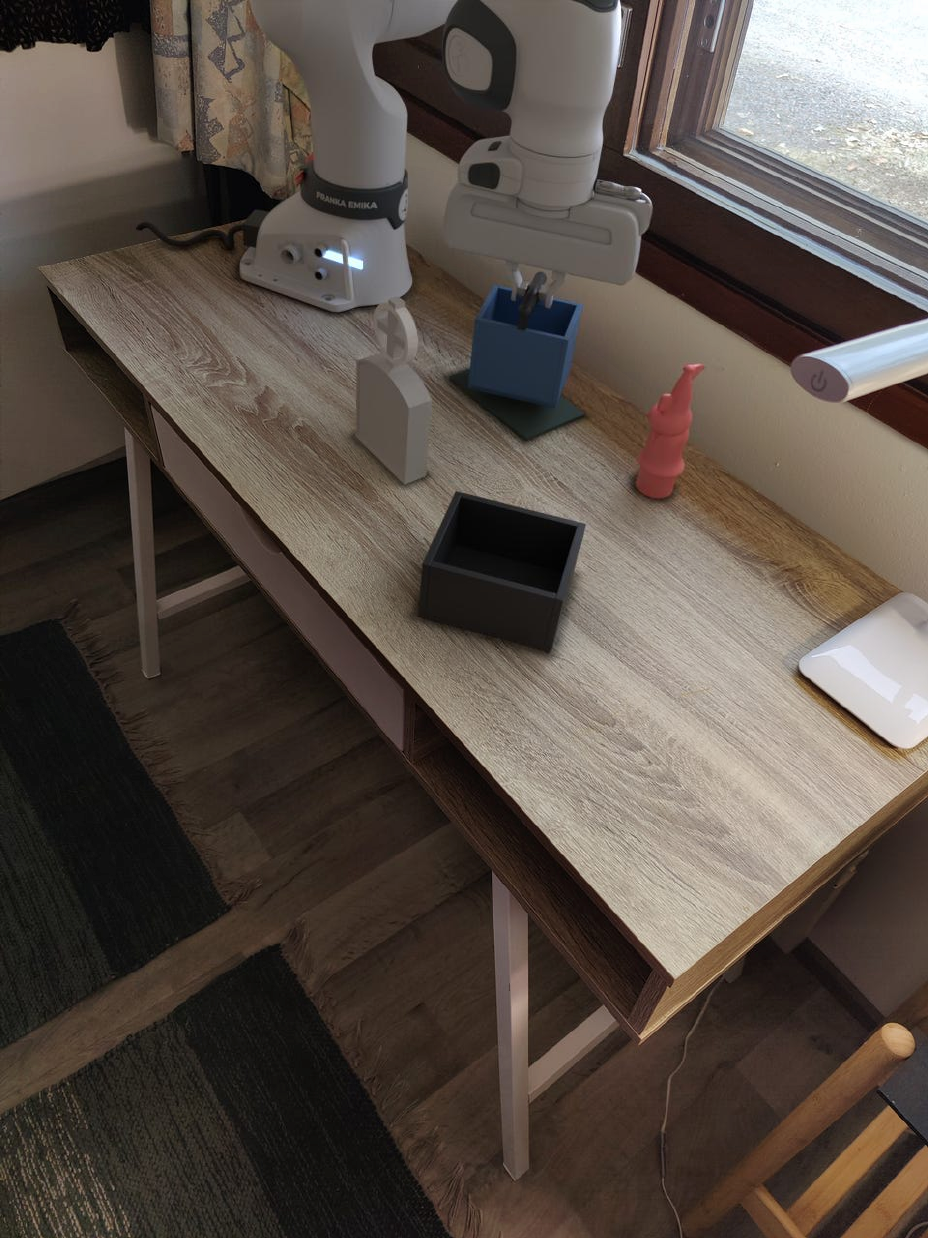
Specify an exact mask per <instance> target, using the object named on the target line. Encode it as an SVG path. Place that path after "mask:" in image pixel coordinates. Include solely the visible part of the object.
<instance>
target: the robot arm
mask: <svg viewBox="0 0 928 1238" xmlns="http://www.w3.org/2000/svg"><path fill="white" fill-rule="evenodd" d="M248 1H249V5H250V9H251V12H252V14H253V18H254V20H255V22H256V24H257V26H258V27H259V29H260V31H261V32H262V33H263V34H264V36H265V37H266V38H267V39H268V41H269V42H271V43H272V45H274V46H275V47H276V48H277V49H279V50H280V51H281V52H283V53H284V54H285V55H286V57H288V58H289V60H290V61H291V62H292V64H293V65H294V67H295V68H296V70H297V72H298V74H299V75H300V78H301V80H302V82H303V84H304V88H305V90H306V94H307V98H308V104H309V109H310V121H311V137H312V152H311V153H310V154H309V155H308V156H307V158H306V162H305V163H304V164H303V165H301V166H300V168H299V172H297V174H296V175H295V176H294V178H293V179H294V180H295V182H294V187H295V188H297V187H298V186H299V187H300V190H298V191H297V192H296V193H294V194H292V195H291V196H289V197H288V198H286V199H284V200H283V201H282V202H280V203H279V204H277V205H276V206H275V207H273V208H272V209H271V210H270V211H266V210H261V209H256V208H255V209H254V210H253V211H252V213H251V214H249V216H248V217H247V218H246V219H245V220H244V221H243V222H242V223H241V224H237V225H234V226H232V227H230V229H229V230H228V232H227V234H226V233H225V232H224V231H222V230H219V229H208V230H204V231H202V232H201V233H198V234H197V235H195V236H193V237H191V238H189V239H185V240H177V239H173V238H170V237H168V236H167V235H165V234H164V233H162V231H161V230H159V228H157V226H155V225H154V224H153V223H151V222H149V221H142V222H140V223H139V224H138V225H137V226H136V227H135V230H136V231H143V230H144V229H148V230H150V231H151V232H152V233H153V234H154V235H155V236H156V237H157V238H158V239H159V240H160V241H162V242H164V243H165V244H167V245H168V246H172V247H177V248H187V247H191V246H193V245H196V244H197V243H199V242H201V241H202V240H205V239H207V238H209V237H219V238H221V239H222V241H223V243H224V245H225V248H226V249H227V250H230V251H231V250H232V249H234V248H235V235H236V234H237V233H238V232H242V241H243V246H245V247H248V249H246V250H245V252H244V253H243V254H242V257H241V259H240V262H239V276H240V278H241V279H242V280H243V281H245V282H247V283H251V284H253V285H257V286H259V287H262V288H265V289H268V290H270V291H273V292H276V293H278V294H282V295H284V296H287V297H290V298H292V299H296V300H298V301H301V302H304V303H306V304H309V305H312V306H315V307H316V308H319V309H323V310H326V311H327V312H328V311H329V312H332V313H342V312H345V311H348V310H351V309H354V308H358V307H366V306H367V307H368V306H376V305H377V306H378V305H379V304H381V303H384V302H388V299H390V298H393V297H397V296H399V297H400V298H401V297H402V296H404V295H406V294H407V293H408V292H409V290H411V288H412V285H413V276H412V273H411V269H410V265H409V258H408V252H407V243H406V232H405V231H406V228H405V222H406V220H407V215H408V209H409V208H408V206H409V174H408V170H407V169H406V154H407V152H406V151H407V134H408V133H407V131H408V110H407V107H406V104H405V102H404V100H403V98H402V96H401V95H400V93H399V92H398V91H397V90H396V89H395V87H394V86H393V85H391V84H390V83H388V81H386V80H384V79H382V78H380V77H379V76H377V75H376V73H375V69H374V63H373V49H374V46H375V45H376V44H380V43H381V44H382V43H385V42H387V43H388V42H391V41H398V40H404V39H409V38H415V37H420V36H422V35H425V34H426V33H429V32H431V31H433V30H436V29H437V28H440V27H441V26H443V31H442V37H441V60H442V67H443V72H444V75H445V78H446V80H447V83H448V84H449V86H450V88H451V89H452V90H453V92H454V93H455V95H457V96H458V97H459V99H460V100H461V101H463V102H464V103H465V104H467V105H469V106H470V107H475V108H477V109H481V110H485V111H491V112H503V113H506V114H507V115H508V116H509V117H510V119H511V124H510V125H511V126H510V131H509V135H503V136H497V137H490V138H489V137H488V138H483V139H479V140H476V141H475V142H474V143H473V144H472V145H471V146H470V147H469V148H468V149H467V150H466V151H465V152H464V153H463V156H462V157H461V159H460V161H459V165H458V166H457V179H458V180H457V182H456V183H455V184H454V185H453V187H452V189H451V190H450V192H449V195H448V197H447V201H446V205H445V209H444V216H443V221H442V229H441V239H442V241H444V243H445V245H446V247H447V248H448V249H450V250H455V251H458V252H459V251H460V252H464V253H469V254H474V255H477V256H478V255H479V256H483V257H488V258H492V259H497V260H501V261H505V262H504V268H503V269H504V273H505V274H506V276H507V278H508V281H509V283H510V285H511V286H512V287H511V288H512V296H511V300H513V301H517V302H522V300H523V298H524V296H525V294H526V292H527V290H528V288H529V286H530V284H531V282H530V281H528V280H524V279H523V277H522V274H521V271H520V269H519V268H520V266H522V265H524V266H529V267H534V268H537V269H542V270H547V271H552V272H551V280H552V281H551V282H550V283H549V285H548V284H545V285H541V287H540V289H539V292H538V297H537V298H538V300H537V304H536V306H540V307H544V308H549V309H550V307H551V305H552V301H553V298H554V295H555V294H556V292H557V291H558V290H559V289H560V288H561V286H563V285H564V283H565V281H566V279H567V277H568V275H569V276H574V277H578V278H579V277H580V278H584V279H589V280H593V281H598V282H602V283H603V282H604V283H608V284H612V285H616V286H621V287H622V286H625V285H626V284H628V283H629V282H630V281H631V280H633V278H634V276H635V274H636V271H637V267H638V262H639V257H640V251H641V243H642V242H641V241H642V235H644V234H646V232H647V231H648V229H649V227H650V226H651V220H652V216H653V211H654V210H653V209H654V207H653V203H652V200H651V199H650V197H649V196H647V195H646V194H645V193H643V192H642V189H641V188H639V187H636V186H632V185H628V186H626V185H621V184H618V183H615V182H612V181H608V180H604V179H598V177H597V176H598V171H599V166H600V160H601V157H602V156H601V155H602V149H603V144H604V132H603V121H604V116H605V113H606V111H607V107H609V104H610V102H611V98H612V95H613V91H614V85H615V81H616V74H617V68H618V61H619V54H620V47H621V46H620V45H621V36H622V7H621V0H248ZM640 198H641V199H640Z"/></svg>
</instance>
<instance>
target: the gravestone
mask: <svg viewBox="0 0 928 1238" xmlns="http://www.w3.org/2000/svg"><path fill="white" fill-rule="evenodd" d="M373 330H374V334H375V339H376V342H377V344H378V347H379V350H380V351H381V352H379V353H376V354H373V355H370V356H366V357H363V358H360V359H357V360H355V370H356V371H355V437H356V438H357V440H359V441H360V443H362V444H363V446H365V447H366V448H367V449H368V450H369V451H370V452H371V453H372V455H374V456H375V457H376V458H377V459H378V460H379V461H380V462H381V463H382V464H383V465H384V466H385V467H386V468H387V469H388V470H389V471H390V472H391V473H392V474H393V475H394V476H396V478H397V479H398V480H399V481H400V482H401V483H403V485H407V484H410V483H413V482H415V481H417V480H419V479H422V478H425V477H427V473H428V472H427V470H428V458H429V444H430V432H431V422H432V421H431V419H432V407H433V399H432V397H431V394H430V393H429V390H428V389H427V387H426V385H425V383H424V382H423V380H422V378H420V376H419V375H418V374H417V373H416V371H415V370H414V369H413V368H412V367H411V366H410V365H409V364H408V363H410V362H413V361H414V360H415V358H416V357H417V354H418V350H419V336H418V331H417V327H416V323H415V321H414V318H413V317H412V315H411V313H410V311H409V310H408V308H407V307H406V301H405V300H403V299H402V298H401V297H399V296H397V297H393V298H390V299H388V302H384V303H381V304H377V306H376V308H375V310H374V314H373Z"/></svg>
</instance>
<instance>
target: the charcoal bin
mask: <svg viewBox="0 0 928 1238" xmlns="http://www.w3.org/2000/svg"><path fill="white" fill-rule="evenodd" d="M586 525H587V523H584V522H580V521H578V520H577V521H576V520H573V519H569V518H565V517H561V516H557V515H553V514H549V513H545V512H542V511H537V510H532V509H530V508H526V507H521V506H517V505H513V504H509V503H505V502H502V501H498V500H493V499H490V498H485V497H482V496H478V495H474V494H471V493H466V492H461V491H457V490H455V492H454V494H453V496H452V498H451V500H450V503H449V505H448V506H447V509H446V511H445V513H444V516H443V517H442V520H441V522H440V524H439V527H438V528H437V531H436V533H435V535H434V538H433V540H432V542H431V544H430V546H429V548H428V550H427V552H426V555H425V556H424V560H423V561H422V563H421V574H420V575H421V576H420V587H419V600H418V612H417V617H418V618H422V619H424V620H428V621H432V622H436V623H439V624H444V625H448V626H451V627H455V628H459V629H462V630H464V631H465V630H466V631H469V632H473V633H476V634H479V635H484V636H487V637H491V638H495V639H498V640H502V641H506V642H510V643H513V644H517V645H521V646H524V647H527V648H532V649H536V650H538V651H544V652H546V653H552V649H553V646H554V643H555V639H556V636H557V632H558V629H559V626H560V622H561V619H562V615H563V611H564V608H565V605H566V602H567V599H568V596H569V591H570V588H571V585H572V581H573V578H574V573H575V570H576V566H577V562H578V558H579V554H580V549H581V546H582V541H583V539H584V535H585V529H586Z"/></svg>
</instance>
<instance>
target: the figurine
mask: <svg viewBox="0 0 928 1238" xmlns="http://www.w3.org/2000/svg"><path fill="white" fill-rule="evenodd" d="M705 369H706V366H705V365H703V364H702V363H694V364H690V363H688V364H685V365H683V368H682V370H683V373H682V374H681V375H680V376H679V378H678V379H677V381H676V382H675V384H674V386H673V388H672V389H671V391H670V392H667V393H663V394H662V395H661V396H660V397H659V400H658V402H656V403H655V404H654V405H653V406H652V407H651V408H650V409H649V412H648V414H647V422H648V425H649V426H650V428H651V431H650V432H649V435H648V437H647V438H646V442H645V445H644V448H643V449H642V450H641V451H640V452H639V454H638V456H637V463H638V465H639V470H638V473H637V477H636V480H635V486H636V489H637V490H638V491H639V492H640V493H641V494H643V495H644V496H647V497H649V498H652V499H664V498H667V497H669V496H671V494H672V492H673V489H674V486H675V484H676V480H677V477H678V476H680V475H681V474H682V473H684V471H685V467H686V465H685V461H684V459H683V452H684V450H685V447H686V445H687V443H688V440H689V437H690V428H691V426H692V422H693V413H692V410H691V409H690V408H691V404H692V400H693V394H694V388H693V387H694V386H693V381H694V380H695V379H696V378H697V376H699V374H700V373H702V371H704V370H705Z"/></svg>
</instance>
